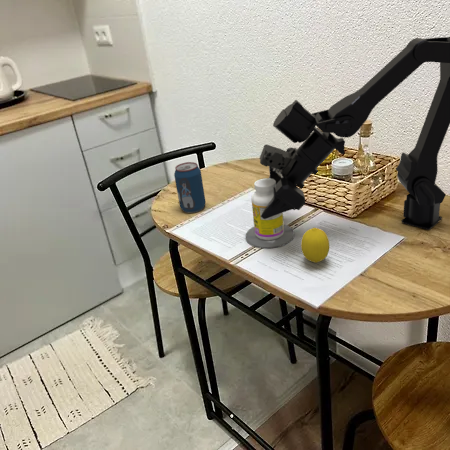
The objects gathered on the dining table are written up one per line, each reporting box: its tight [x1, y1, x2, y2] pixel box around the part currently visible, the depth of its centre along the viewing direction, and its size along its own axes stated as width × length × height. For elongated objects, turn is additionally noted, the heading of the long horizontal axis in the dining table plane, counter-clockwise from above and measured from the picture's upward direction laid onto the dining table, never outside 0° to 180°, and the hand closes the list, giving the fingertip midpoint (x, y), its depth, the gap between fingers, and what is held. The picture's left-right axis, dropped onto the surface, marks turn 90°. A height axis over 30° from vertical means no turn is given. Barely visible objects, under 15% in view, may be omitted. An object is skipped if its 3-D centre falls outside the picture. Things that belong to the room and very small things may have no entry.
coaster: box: [245, 224, 295, 249], centre depth 107 cm, size 11×11×1 cm
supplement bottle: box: [251, 177, 285, 240], centre depth 104 cm, size 7×7×13 cm
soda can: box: [173, 161, 206, 214], centre depth 123 cm, size 7×7×12 cm
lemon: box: [300, 227, 330, 264], centre depth 94 cm, size 6×6×8 cm
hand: (261, 208), depth 104 cm, fingers open, 9 cm apart
